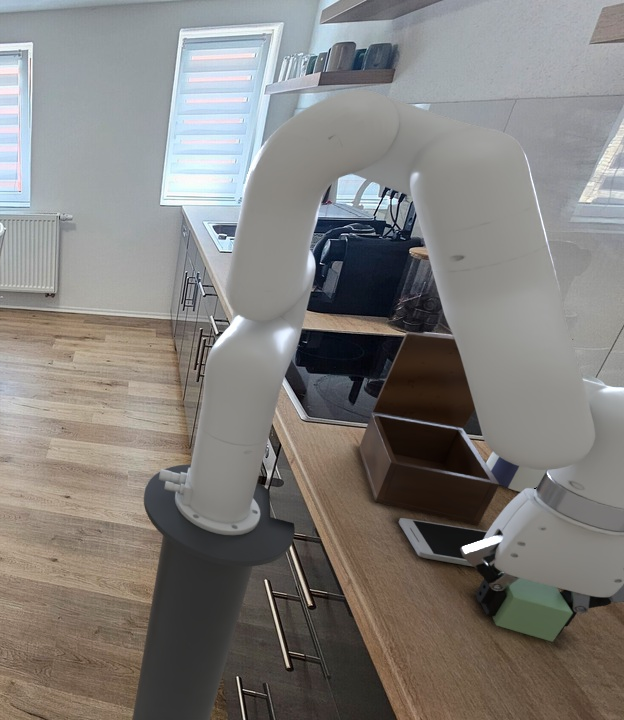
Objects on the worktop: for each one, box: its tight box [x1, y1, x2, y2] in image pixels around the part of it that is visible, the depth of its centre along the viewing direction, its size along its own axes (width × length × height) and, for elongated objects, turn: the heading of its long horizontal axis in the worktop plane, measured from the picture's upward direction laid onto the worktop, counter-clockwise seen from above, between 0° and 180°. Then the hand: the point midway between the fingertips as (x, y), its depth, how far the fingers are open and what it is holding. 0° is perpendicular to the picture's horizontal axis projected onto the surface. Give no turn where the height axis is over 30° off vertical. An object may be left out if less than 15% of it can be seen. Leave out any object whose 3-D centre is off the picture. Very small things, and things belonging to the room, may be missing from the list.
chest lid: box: [372, 331, 476, 428], centre depth 82 cm, size 16×13×5 cm
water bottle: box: [485, 337, 606, 493], centre depth 78 cm, size 8×9×25 cm
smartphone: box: [398, 517, 495, 567], centre depth 70 cm, size 7×16×1 cm, turn 73°
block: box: [491, 572, 573, 642], centre depth 60 cm, size 5×5×5 cm
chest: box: [358, 412, 501, 526], centre depth 81 cm, size 16×13×8 cm
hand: (516, 614), depth 60 cm, fingers closed on block, 5 cm apart
